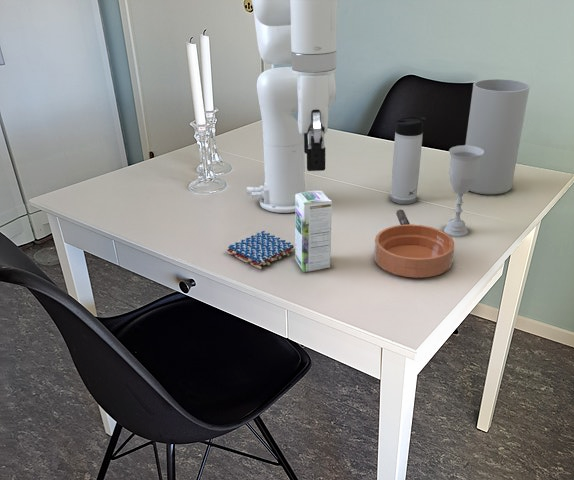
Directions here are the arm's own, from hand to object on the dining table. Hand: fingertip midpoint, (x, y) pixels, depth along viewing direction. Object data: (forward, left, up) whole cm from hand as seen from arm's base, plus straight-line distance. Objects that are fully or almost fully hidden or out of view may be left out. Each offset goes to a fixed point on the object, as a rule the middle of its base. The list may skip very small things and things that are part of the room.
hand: (314, 161), depth 110 cm
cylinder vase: (+46, +38, -22) cm, 63 cm away
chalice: (+32, +13, -22) cm, 40 cm away
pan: (+20, 0, -21) cm, 29 cm away
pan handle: (+20, +12, -19) cm, 30 cm away
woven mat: (-11, +5, -22) cm, 25 cm away
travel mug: (+24, +31, -22) cm, 45 cm away
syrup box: (0, 0, -22) cm, 22 cm away
